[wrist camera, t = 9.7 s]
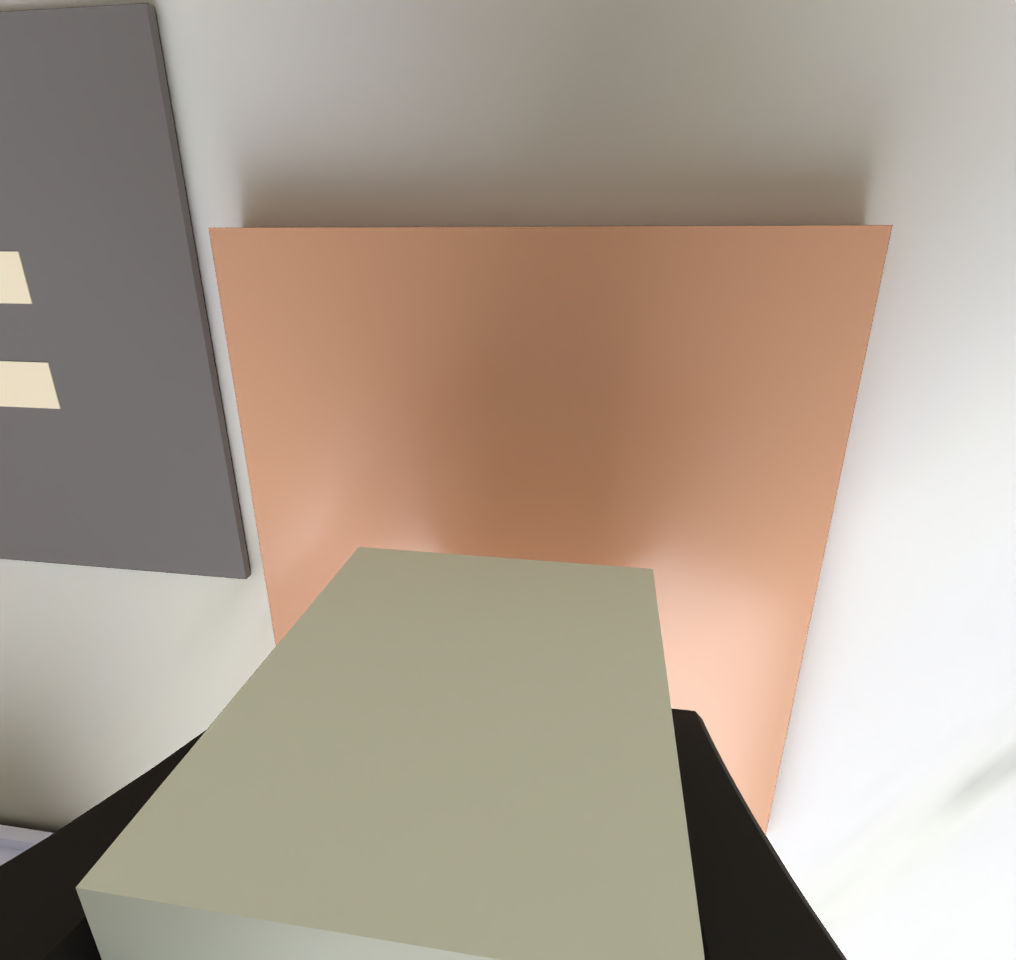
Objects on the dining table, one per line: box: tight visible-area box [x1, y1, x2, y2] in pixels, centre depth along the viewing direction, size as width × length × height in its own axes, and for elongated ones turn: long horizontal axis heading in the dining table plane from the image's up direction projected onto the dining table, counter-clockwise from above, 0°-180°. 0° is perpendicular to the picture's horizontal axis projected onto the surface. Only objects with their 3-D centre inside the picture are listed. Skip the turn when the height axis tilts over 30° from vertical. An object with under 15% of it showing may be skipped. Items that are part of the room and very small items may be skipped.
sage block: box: [76, 547, 705, 960], centre depth 8 cm, size 4×4×6 cm
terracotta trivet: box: [209, 225, 892, 835], centre depth 13 cm, size 14×11×1 cm
